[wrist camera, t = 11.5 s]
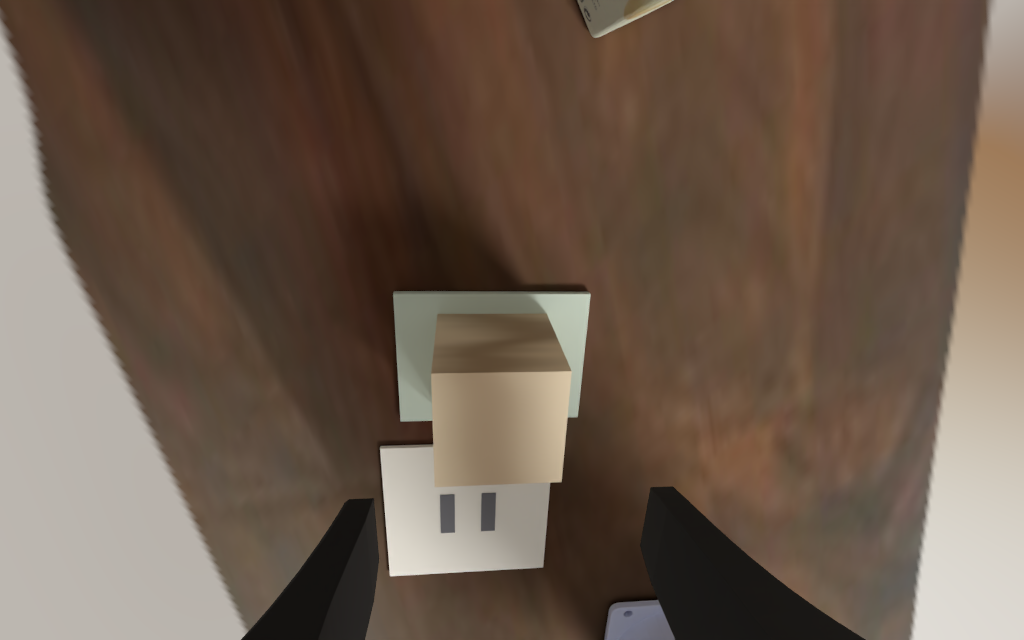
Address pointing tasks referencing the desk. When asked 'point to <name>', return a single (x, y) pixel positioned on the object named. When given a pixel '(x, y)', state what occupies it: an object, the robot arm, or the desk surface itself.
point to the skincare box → (615, 13)
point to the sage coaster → (422, 307)
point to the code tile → (457, 519)
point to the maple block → (498, 400)
